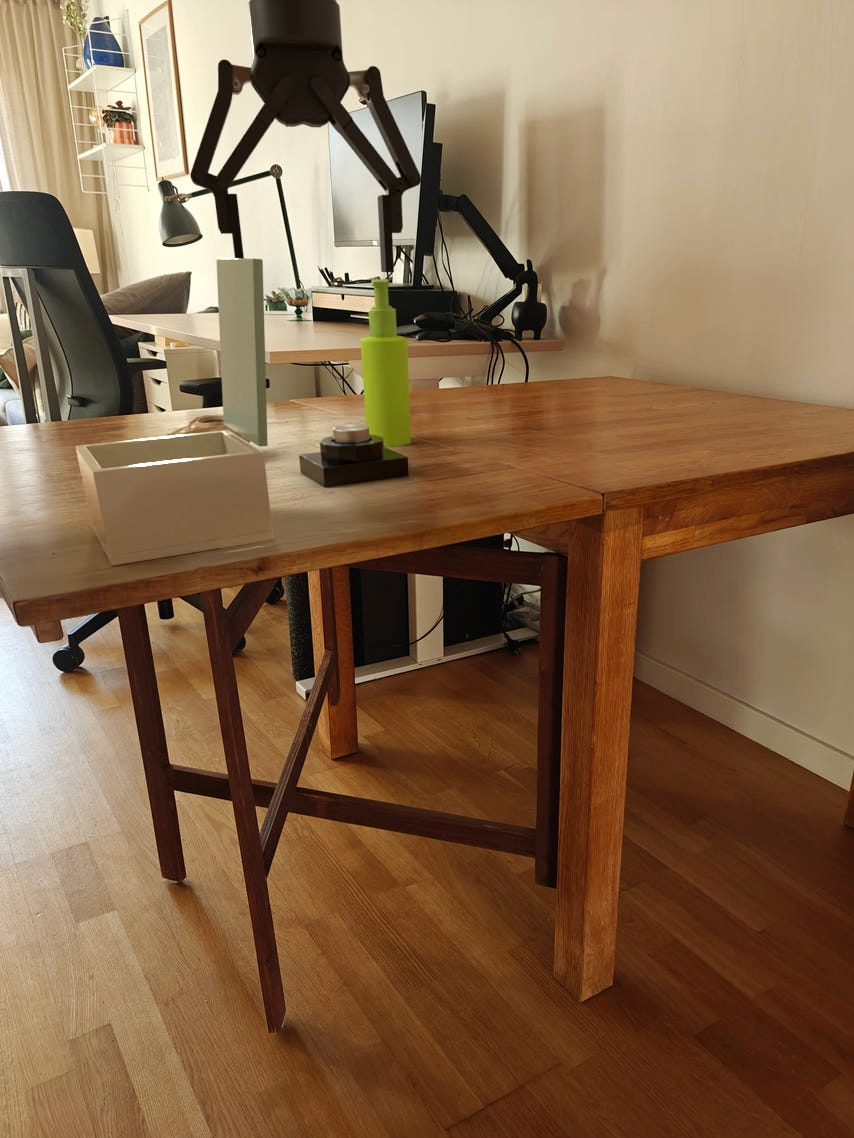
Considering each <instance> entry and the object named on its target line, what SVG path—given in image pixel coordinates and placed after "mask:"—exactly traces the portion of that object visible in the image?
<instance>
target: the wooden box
mask: <svg viewBox="0 0 854 1138" xmlns="http://www.w3.org/2000/svg"><path fill="white" fill-rule="evenodd" d="M164 436H165V437H164ZM164 436H157V437H147V438H138V439H128V440H118V441H110V442H100V443H99V442H98V443H89V444H80V445H75V451H76V456H77V460H78V461H77V462H78V467H79V471H80V476H81V481H82V486H83V490H84V491H83V492H84V496H85V501H86V506H87V509H88V514H89V519H90V524H91V525H90V526H91V529H92V531H93V533H94V536H95V537H96V539H97V541H98V543H99V545H100V547H101V548H102V550H103V552H104V554H105V556H106V559H107V560H108V562H109V563H110V566H111V567H114V566H120V565H126V564H132V563H140V562H145V561H151V560H156V559H164V558H168V557H176V556H181V555H188V554H193V553H199V552H204V551H205V552H206V551H211V550H217V549H222V548H228V547H233V546H234V547H235V546H239V545H246V544H253V543H257V542H258V543H259V542H264V541H269V540H271V541H272V540H274V531H273V522H272V514H271V506H270V505H271V504H270V503H271V502H270V496H269V487H268V486H269V485H268V477H267V470H266V468H267V467H266V461H265V453H264V452H265V451H262V450H261V449H259V448H258V447H256V446H254V445H253V444H251V442H250V443H248V442H247V441H245V440H243V439H242V438H240V437H238V436H237V435H235V434H234V433H232V432H230V431H229V430H223V431H214V432H204V433H194V434H185V435H175V436H166V435H164Z"/></svg>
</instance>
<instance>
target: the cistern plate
mask: <svg viewBox="0 0 854 1138" xmlns="http://www.w3.org/2000/svg"><path fill="white" fill-rule="evenodd" d="M369 436H370V441H369V442H366V443H358V444H339V443H334V437H333V435H330V436H327V437H323V438H322V439H321V440H320V441H319V448H320V449H319V450H320V451H316V452H309V453H301V454H300V453H299V454H298V459H299V460H298V461H299V469H300V474H301V475H303V476H305V477H306V478H307V479H310V480H311V481H313V482H315V483H316V484H318V485H319V486H321V487H323V488H324V489H326V488H327V489H328V488H334V487H335V488H336V487H340V486H348V485H355V484H362V483H369V482H376V481H383V480H391V479H398V478H405V477H410V473H409V457H408V456H406V455H403V454H402V453H399V452H397V451H394V450H392V449H390V448H389V447H384V441H383V438H382V437H380V436H377V435H370V434H369Z"/></svg>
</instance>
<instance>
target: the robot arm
mask: <svg viewBox="0 0 854 1138" xmlns="http://www.w3.org/2000/svg"><path fill="white" fill-rule="evenodd" d="M248 12H249V23H250V32H251V42H252V43H251V44H252V55H253V61H252V64H251V67H249V66H242V65H238V64H233V63H231V62H230V60H228V59H220V60H219V62H218V64H217V92H216V95H215V99H214V102H213V104H212V108H211V110H210V114H209V116H208V120H207V122H206V125H205V128H204V132H203V134H202V137H201V141H200V143H199V146H198V149H197V152H196V156H195V158H194V162H193V164H192V167H191V170H190V175H189V176H190V179H191V182H192V183H193V184H194V185H195V186H197V187H201V188H203V189H206V190H208V191H209V192H211V193H212V196H213V198H214V205H215V212H216V220H217V222H216V223H217V228H218V231H219V232H220V234H221V235H231V237H232V245H233V255H234V258H245V257H244V256H245V255H244V245H243V238H242V229H241V221H240V220H241V219H240V211H239V203H238V202H239V200H238V194H237V193H229V188H230V187H231V186H232V184H233V182H234V181H235V179H236V178H237V176H238V175H239V173H240V172H241V170H242V169H243V167H244V166H245V164H246V163H247V161H248V160H249V158H251V157H250V156H251V155H252V154H253V152H255V149H256V148H257V146H258V145H259V144H260V142H261V140H262V139H263V138H264V136H265V134H266V133H267V131H268V130H269V129H270V127H271V125H272V124H273V123H274V122H275V120H276V121H277V122H278V123H279V124H280V125H283V126H285V127H287V128H290V127H291V128H295V127H298V126H302V125H303V126H305V127H306V126H307V127H310V128H319V129H320V128H322V127H323V126H325V125H327V124H328V123H330V125H331V126H332V127H333V129H334V130H335V131H336V132H337V133H338V134H339V135H340V136H341V137H342V138H343V140H344V141H345V142H346V144H347V145H348V146H349V147H350V149H351V150H352V151H353V152H354V154H356V156H357V157H358V159H359V160H360V161H361V163H362V164H363V165H364V167H365V168H366V169H367V170H368V172H369V173H370V174H371V175H372V176H373V178H374V179H375V180H376V182H377V183H378V184H379V185H380V187H381V188H382V189H383V191H384V192H385V194H381V195H377V213H378V214H377V215H378V233H379V234H378V235H379V252H380V254H379V255H380V271H381V273H395V265H394V241H393V234H402V231H403V229H404V224H403V223H404V222H403V219H404V218H403V201H402V200H403V195H404V193H405V192H407V191H408V190H411V189H412V188H415V187H418V186H420V184H421V182H422V176H421V174H420V172H419V169H418V167H417V165H416V162H415V161H414V158H413V157H412V154H411V152H410V150H409V147H408V145H407V143H406V141H405V139H404V137H403V135H402V132H401V130H400V128H399V126H398V124H397V122H396V120H395V117H394V115H393V113H392V111H391V108H390V106H389V105H388V102H387V99H386V98H385V95H384V89H383V82H382V76H381V74H382V73H381V70H380V69H379V68H378V67H377V66H376V65H371V66H369V67H368V68H367V69H361V70H353V71H349V70H348V69H347V67H346V64H345V62H344V55H343V40H342V37H343V36H342V22H341V21H342V20H341V6H340V5H339V3H338V1H337V0H249V1H248ZM246 84H250V85H251V86H252V88H253V89H254V91H255V93H256V94H258V97H259V98H260V100H261V101H262V102H263V103H264V104H263V105H262V106H261V108H260V109H259V111H258V113H257V114H256V116H255V118H254V119H253V120H252V122H251V123H250V125H249V127H248V128H247V129H246V131H245V133H244V134H243V135H242V137H241V139H240V140H239V142H237V145H236V146H235V147H234V149H233V151H232V152H231V154H230V155H229V157H228V158H227V160H226V161H225V163H224V164H223V166H222V167H221V169H220V170H219V171H218V173H217V175H215V174H213V173H210V172H209V171H210V169H211V165H212V162H213V160H214V158H215V153H216V152H217V151H216V150H217V147H218V145H219V142H220V139H221V136H222V133H223V130H224V127H225V124H226V121H227V118H228V116H229V112H230V110H231V106H232V101H233V96H238V95H241V93H242V92H243V89H244V86H245V85H246ZM350 88H353V89H354V90H355V91H356V93H357V96H358V97H359V98H360V99H361V100H365V101H366V105H367V108H368V111H369V112H370V115H371V117H372V119H373V122H374V123H375V125H376V128H377V130H378V132H379V134H380V136H381V138H382V140H383V142H384V145H385V146H386V149H387V151H388V153H389V155H390V157H391V160H392V162H393V163H394V166H395V167H396V170H397V172H398V174H399V176H398V177H397V175H396V174H395V173H394V171H393V170H392V169H391V167H390V166H389V165H388V164H387V162H386V161H385V160H384V158H383V157H382V156H381V154H380V153H379V152H378V151H377V150H376V148H375V147H374V145H373V144H372V143H371V141H370V140H369V139H368V138H367V136H366V135H365V133H363V131H362V130H361V129H360V128H359V126H358V125H357V123H356V121H354V119H353V117H352V115H351V113H349V111H348V110H347V109H346V107H344V105H343V104H342V101H343V99H344V97H345V95H346V94H347V92H348V90H349V89H350Z"/></svg>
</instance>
